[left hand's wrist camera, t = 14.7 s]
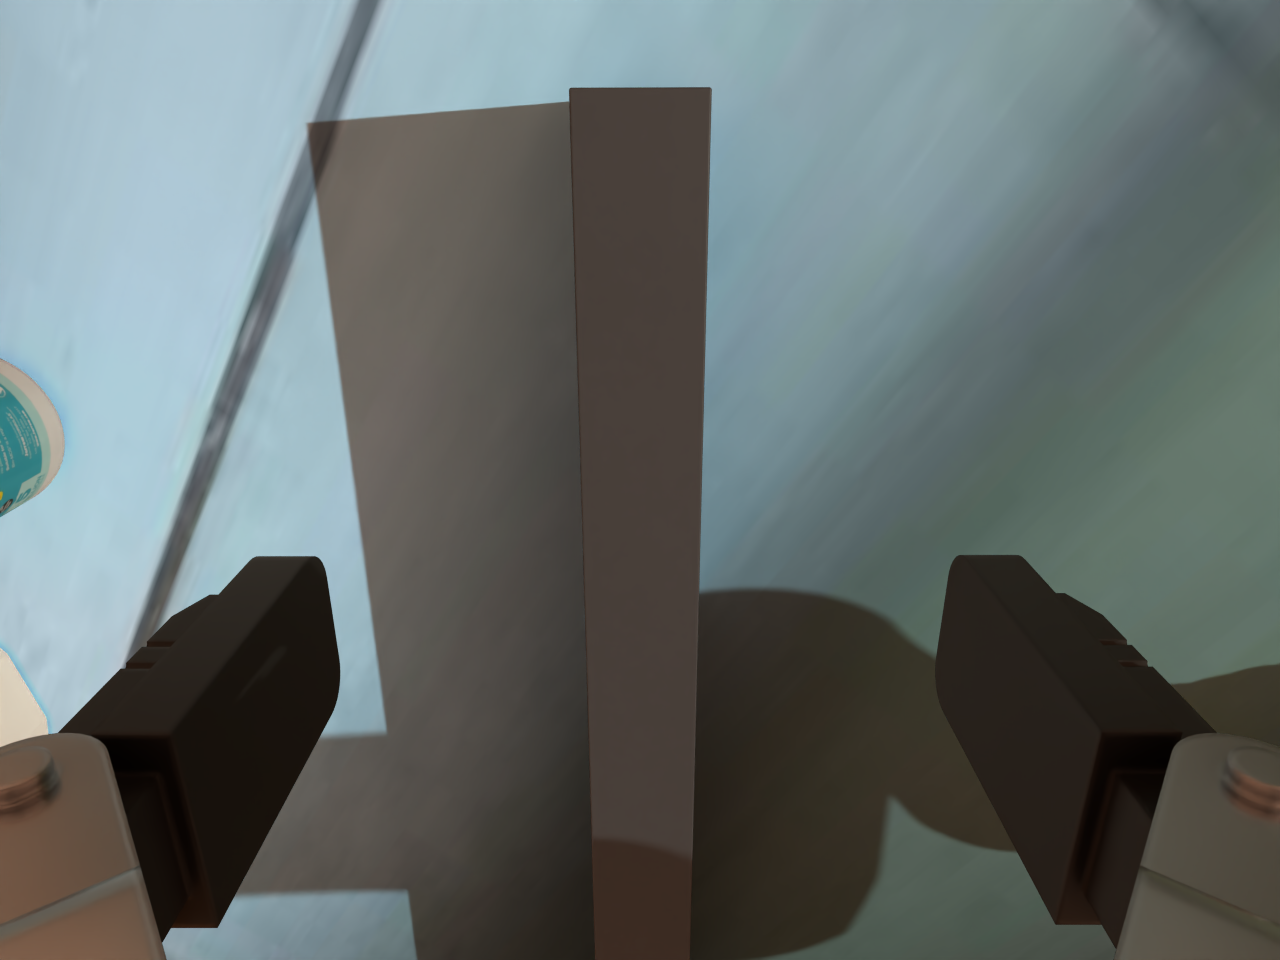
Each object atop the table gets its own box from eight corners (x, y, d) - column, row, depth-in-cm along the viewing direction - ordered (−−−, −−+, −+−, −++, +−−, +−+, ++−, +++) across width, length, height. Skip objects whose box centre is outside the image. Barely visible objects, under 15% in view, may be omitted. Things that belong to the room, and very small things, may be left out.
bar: (584, 100, 35) (568, 87, 27) (695, 99, 35) (711, 87, 27) (608, 1105, 57) (604, 1258, 49) (676, 1105, 57) (682, 1257, 49)
